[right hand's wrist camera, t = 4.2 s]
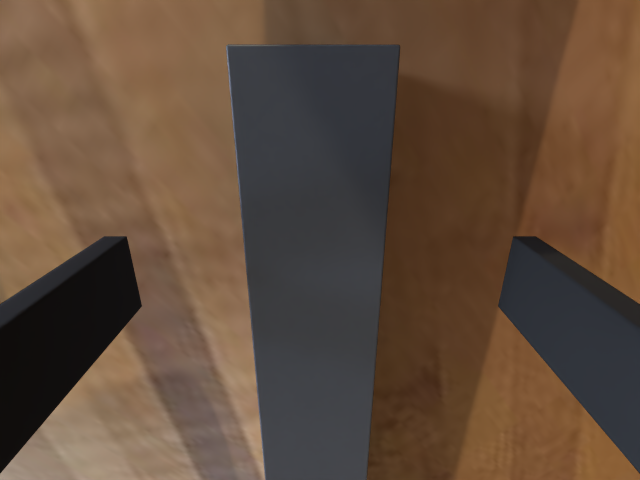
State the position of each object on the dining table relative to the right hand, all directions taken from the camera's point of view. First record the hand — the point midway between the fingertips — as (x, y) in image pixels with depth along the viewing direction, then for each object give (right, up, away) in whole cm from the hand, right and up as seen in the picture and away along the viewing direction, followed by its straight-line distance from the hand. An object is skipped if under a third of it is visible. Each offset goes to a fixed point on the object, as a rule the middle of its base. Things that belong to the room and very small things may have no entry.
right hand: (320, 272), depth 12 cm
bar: (0, -22, +18) cm, 28 cm away
